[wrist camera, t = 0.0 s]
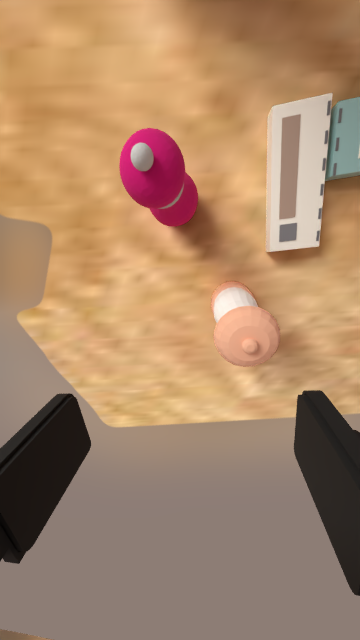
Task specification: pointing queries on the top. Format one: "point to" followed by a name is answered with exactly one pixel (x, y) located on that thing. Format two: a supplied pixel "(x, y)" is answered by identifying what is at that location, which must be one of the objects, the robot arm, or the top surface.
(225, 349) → the pepper shaker
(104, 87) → the top surface
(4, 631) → the robot arm
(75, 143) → the top surface
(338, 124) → the stub
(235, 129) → the top surface
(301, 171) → the ticket
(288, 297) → the top surface
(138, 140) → the pepper mill
